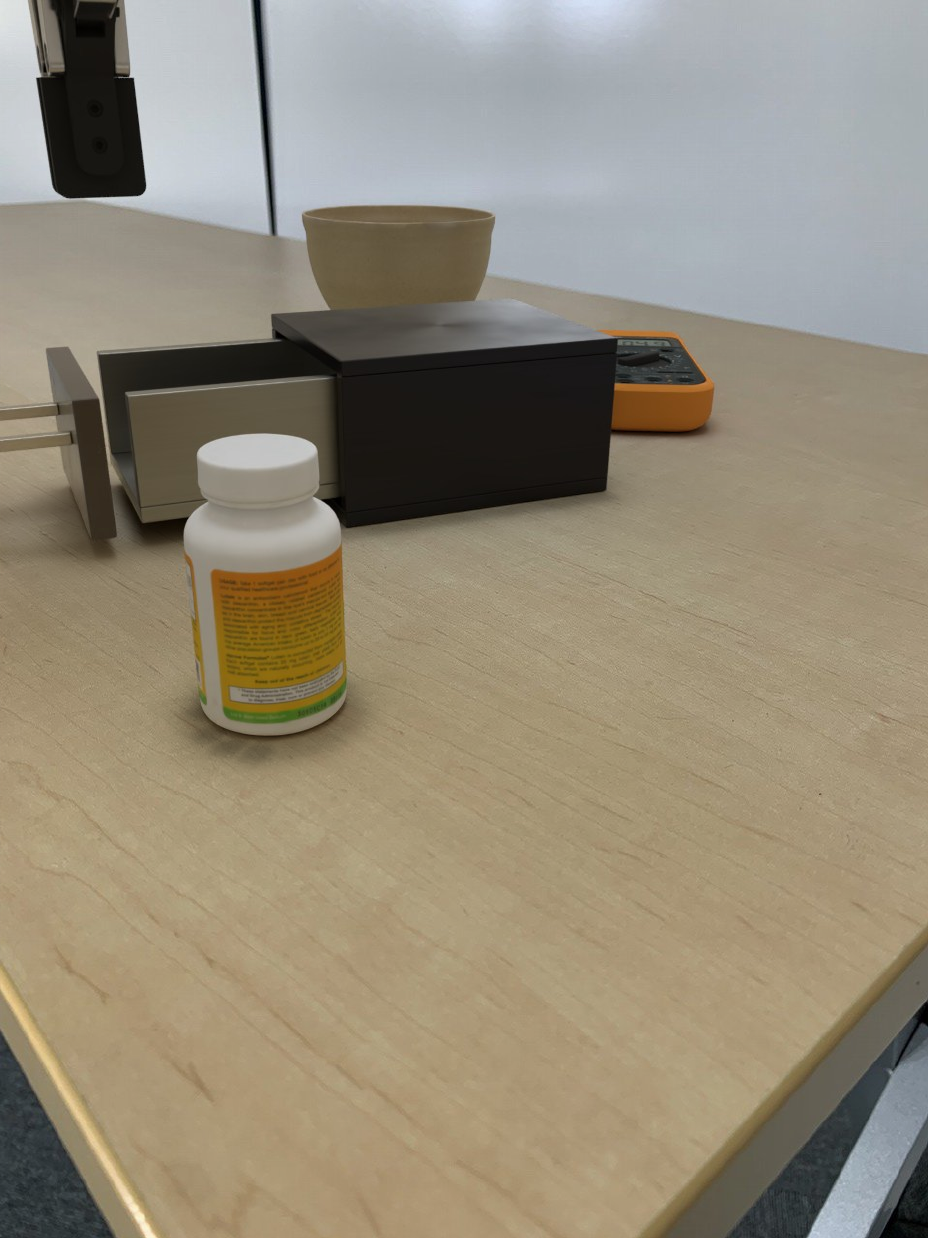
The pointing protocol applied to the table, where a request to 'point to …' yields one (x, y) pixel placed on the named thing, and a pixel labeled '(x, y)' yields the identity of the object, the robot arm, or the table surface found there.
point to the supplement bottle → (265, 587)
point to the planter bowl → (397, 253)
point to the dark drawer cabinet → (461, 405)
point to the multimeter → (658, 384)
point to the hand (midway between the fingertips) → (100, 194)
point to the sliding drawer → (177, 419)
